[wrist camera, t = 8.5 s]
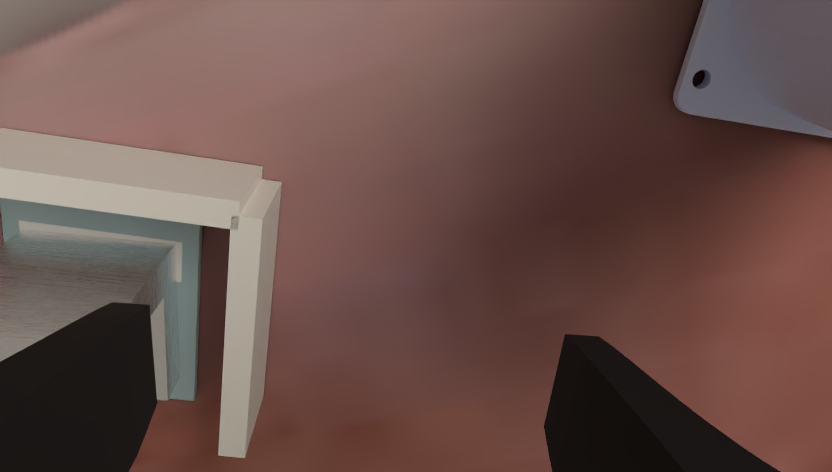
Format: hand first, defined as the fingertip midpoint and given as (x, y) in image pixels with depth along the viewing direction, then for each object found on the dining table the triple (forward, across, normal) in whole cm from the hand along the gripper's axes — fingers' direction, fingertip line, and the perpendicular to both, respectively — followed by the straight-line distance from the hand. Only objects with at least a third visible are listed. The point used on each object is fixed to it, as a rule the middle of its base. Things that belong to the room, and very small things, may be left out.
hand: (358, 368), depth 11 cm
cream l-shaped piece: (+9, +7, +4) cm, 12 cm away
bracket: (+9, +8, +4) cm, 13 cm away
